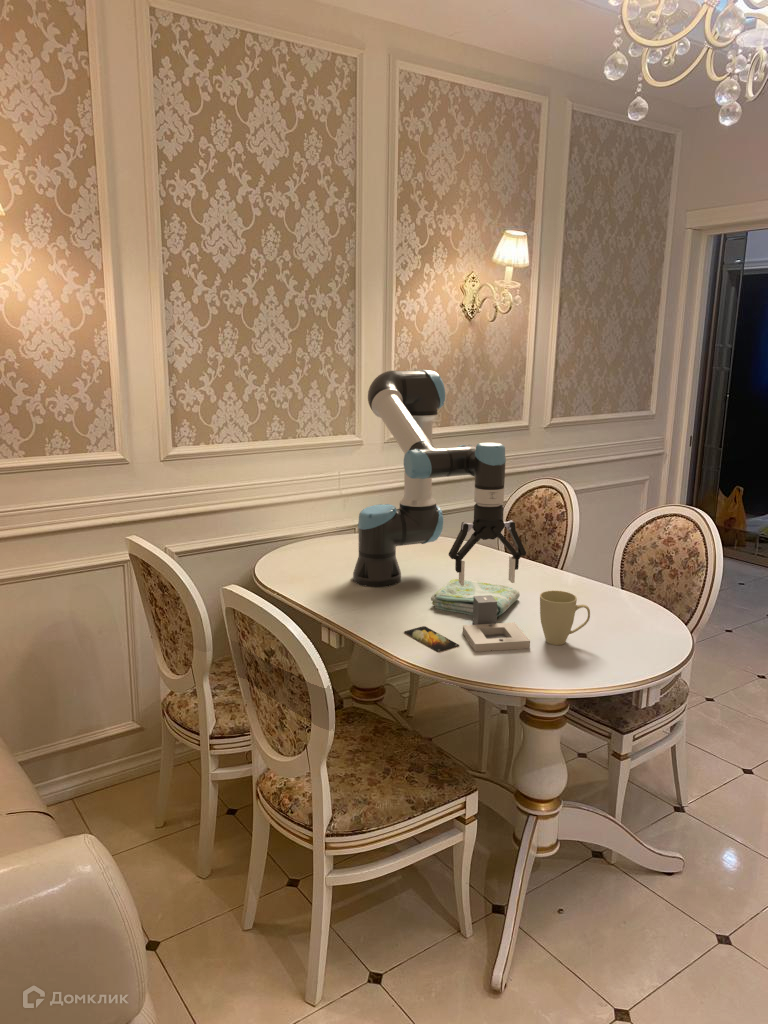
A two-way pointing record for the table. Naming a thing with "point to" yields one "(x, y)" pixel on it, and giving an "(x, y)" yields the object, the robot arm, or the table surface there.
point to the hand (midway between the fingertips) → (486, 582)
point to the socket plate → (495, 637)
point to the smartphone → (431, 639)
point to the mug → (559, 615)
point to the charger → (484, 610)
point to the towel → (472, 596)
